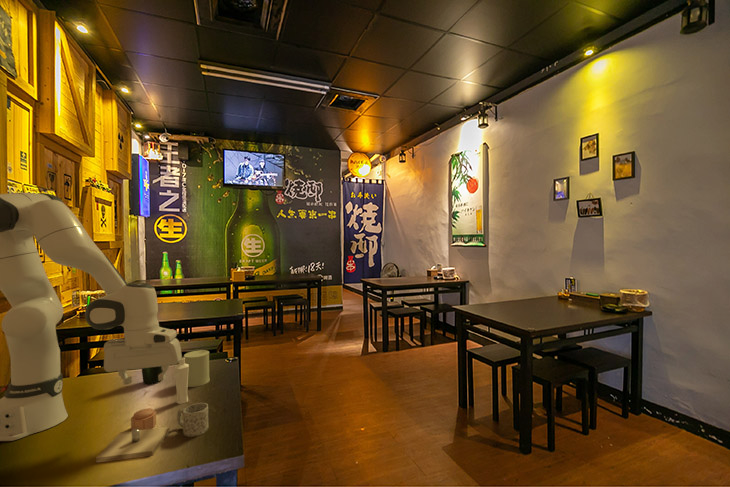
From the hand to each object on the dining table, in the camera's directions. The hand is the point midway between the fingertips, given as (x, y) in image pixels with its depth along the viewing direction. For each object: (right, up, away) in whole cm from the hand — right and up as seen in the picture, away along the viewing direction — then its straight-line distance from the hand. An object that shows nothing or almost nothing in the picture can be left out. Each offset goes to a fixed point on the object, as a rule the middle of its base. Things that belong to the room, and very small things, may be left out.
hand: (145, 381), depth 102 cm
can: (-1, -14, +33) cm, 36 cm away
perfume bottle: (+2, -14, +17) cm, 22 cm away
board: (+4, -14, -10) cm, 17 cm away
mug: (+15, -14, -2) cm, 20 cm away
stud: (+4, -12, -10) cm, 16 cm away
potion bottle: (-19, -15, +35) cm, 43 cm away
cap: (0, -14, 0) cm, 14 cm away
